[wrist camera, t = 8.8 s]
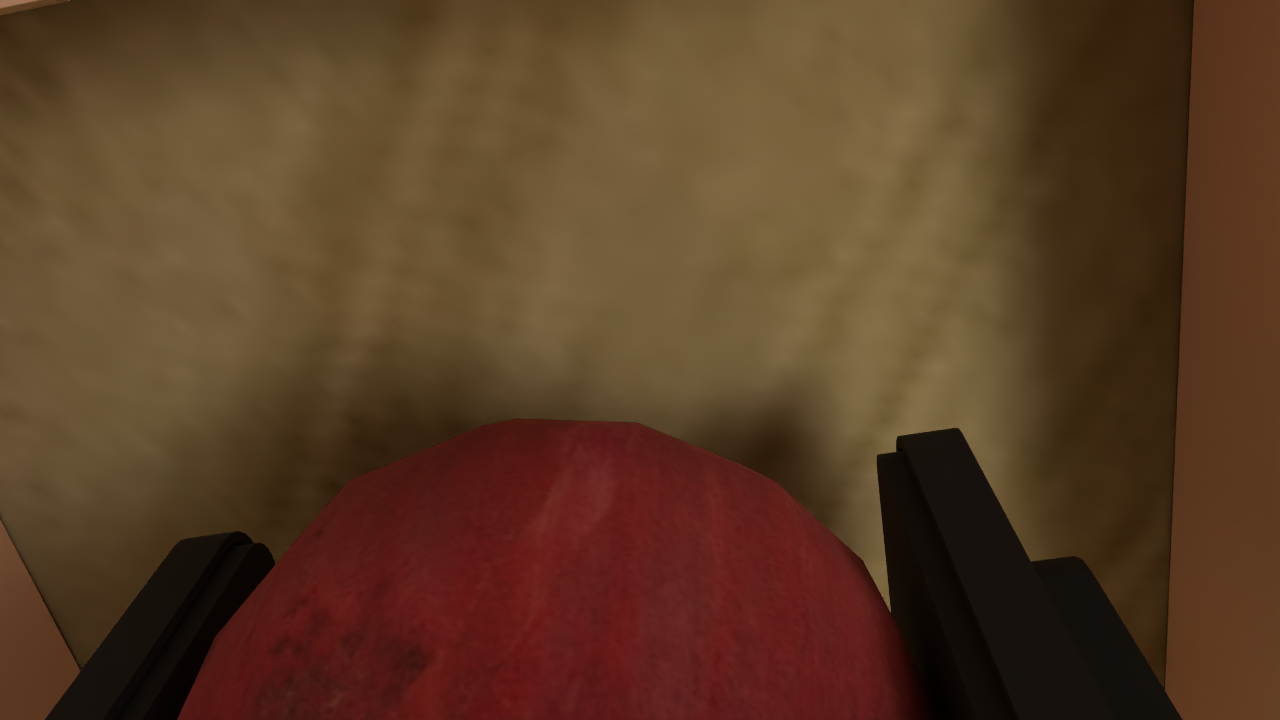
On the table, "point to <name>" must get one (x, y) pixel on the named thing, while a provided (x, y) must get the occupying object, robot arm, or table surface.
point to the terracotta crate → (1206, 404)
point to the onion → (563, 595)
